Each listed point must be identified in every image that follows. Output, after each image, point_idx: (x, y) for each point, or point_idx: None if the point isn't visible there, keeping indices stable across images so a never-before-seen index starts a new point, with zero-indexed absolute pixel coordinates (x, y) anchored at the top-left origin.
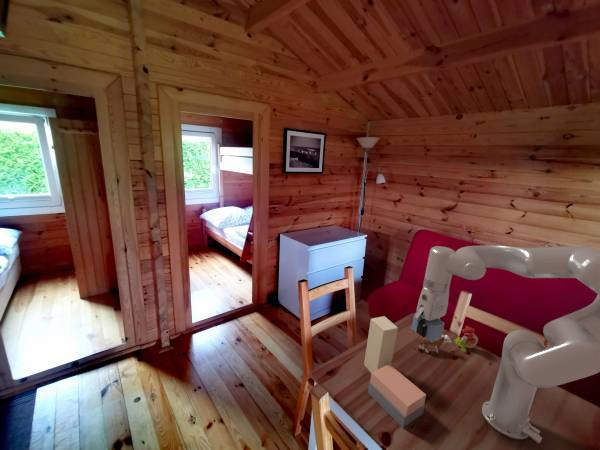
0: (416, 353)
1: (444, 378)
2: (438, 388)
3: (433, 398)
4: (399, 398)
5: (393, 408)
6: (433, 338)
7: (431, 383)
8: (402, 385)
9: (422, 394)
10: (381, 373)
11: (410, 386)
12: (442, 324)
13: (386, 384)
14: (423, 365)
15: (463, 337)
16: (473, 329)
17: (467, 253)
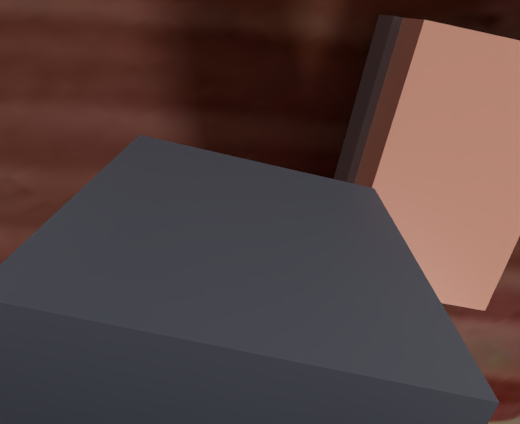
0: (2, 222)
1: (36, 34)
2: (141, 28)
3: (234, 18)
4: None
5: None
6: (363, 206)
7: (141, 71)
8: (456, 155)
9: (439, 37)
10: (450, 275)
11: (428, 119)
12: (95, 295)
13: (515, 219)
14: (53, 158)
15: None
16: None
17: None
